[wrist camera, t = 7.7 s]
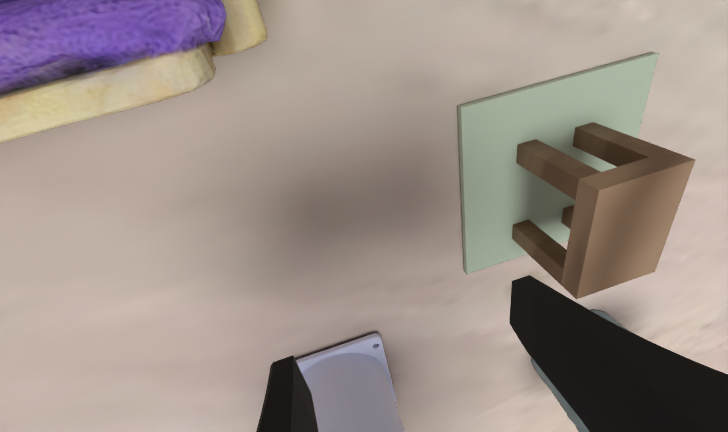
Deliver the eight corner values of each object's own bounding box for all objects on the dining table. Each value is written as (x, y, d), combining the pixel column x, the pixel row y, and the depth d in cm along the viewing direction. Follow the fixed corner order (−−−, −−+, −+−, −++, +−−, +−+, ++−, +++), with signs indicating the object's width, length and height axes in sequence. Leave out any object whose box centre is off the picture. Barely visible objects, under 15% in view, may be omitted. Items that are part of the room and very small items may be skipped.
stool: (593, 122, 21) (695, 159, 16) (576, 217, 25) (654, 271, 20) (517, 144, 21) (599, 190, 16) (511, 238, 25) (576, 299, 20)
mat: (610, 222, 27) (615, 225, 27) (464, 270, 26) (466, 274, 25) (652, 52, 20) (658, 53, 20) (457, 105, 19) (461, 107, 19)
